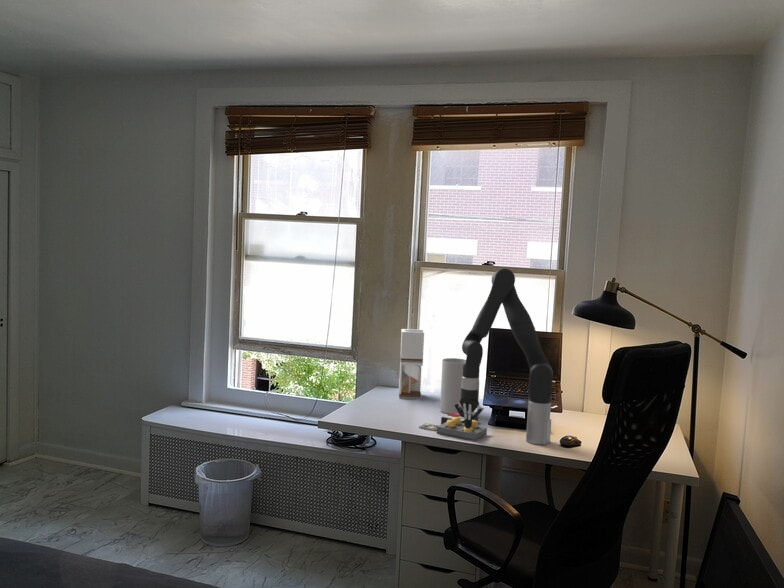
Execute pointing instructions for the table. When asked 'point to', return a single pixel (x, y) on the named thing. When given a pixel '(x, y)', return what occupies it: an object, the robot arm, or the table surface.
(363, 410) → the table surface
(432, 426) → the card
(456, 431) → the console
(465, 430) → the button
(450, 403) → the cylinder vase
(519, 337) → the robot arm
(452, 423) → the button
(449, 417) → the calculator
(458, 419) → the button
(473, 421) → the button
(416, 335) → the white square dispenser
